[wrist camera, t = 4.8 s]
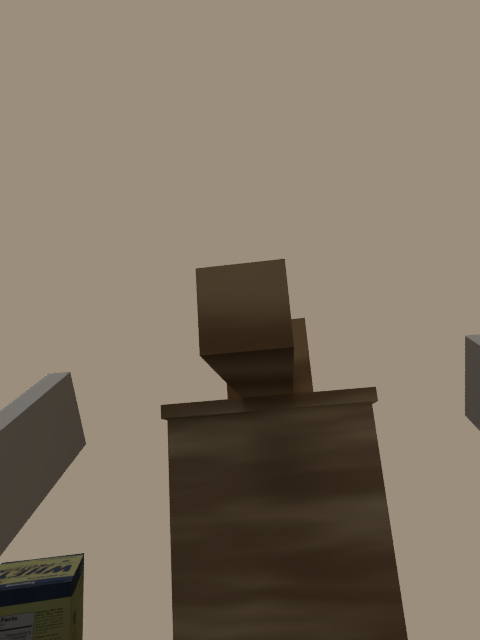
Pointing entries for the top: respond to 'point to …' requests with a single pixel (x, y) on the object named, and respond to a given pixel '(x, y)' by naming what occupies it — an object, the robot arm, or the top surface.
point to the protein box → (42, 599)
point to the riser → (280, 520)
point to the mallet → (252, 330)
